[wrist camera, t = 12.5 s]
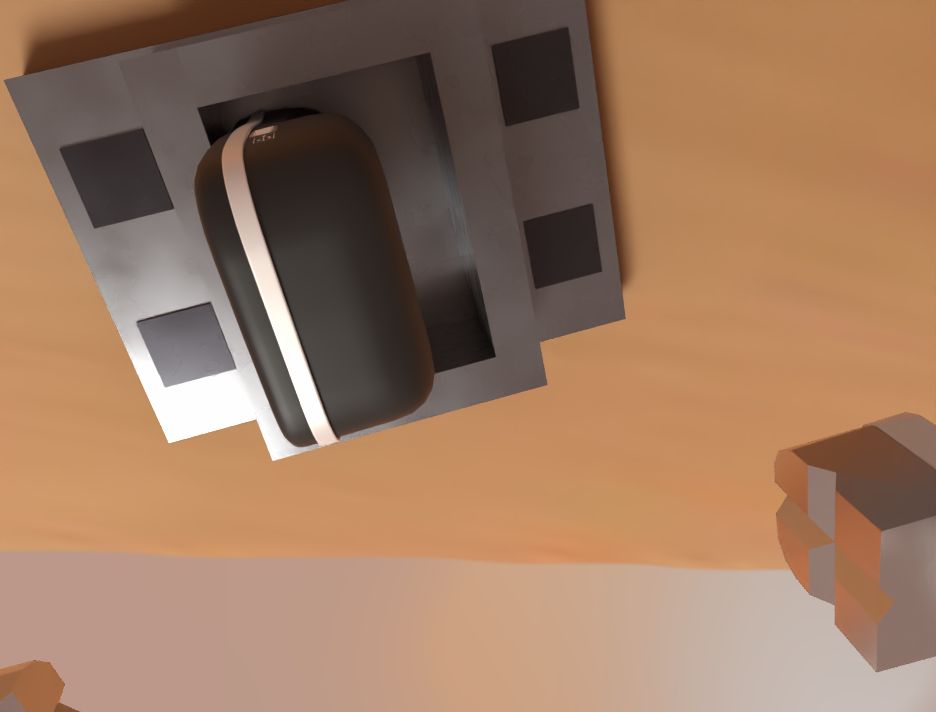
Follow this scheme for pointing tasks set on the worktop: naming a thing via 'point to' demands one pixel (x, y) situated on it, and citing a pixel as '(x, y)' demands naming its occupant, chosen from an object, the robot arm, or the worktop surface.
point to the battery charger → (315, 272)
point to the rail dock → (405, 167)
